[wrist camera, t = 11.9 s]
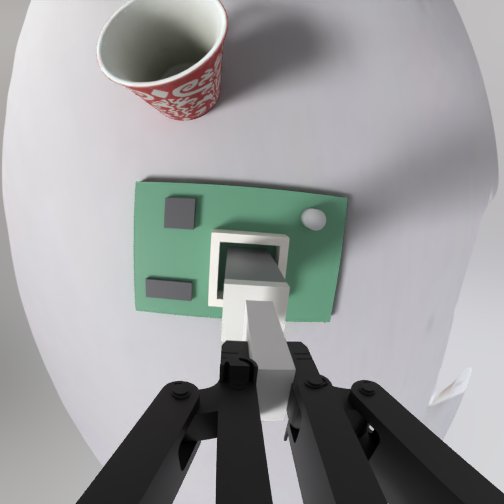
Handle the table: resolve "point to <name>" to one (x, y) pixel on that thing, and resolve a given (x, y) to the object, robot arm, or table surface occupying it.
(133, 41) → the mug
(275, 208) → the board
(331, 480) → the robot arm
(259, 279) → the plug
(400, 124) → the table surface
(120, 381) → the table surface
